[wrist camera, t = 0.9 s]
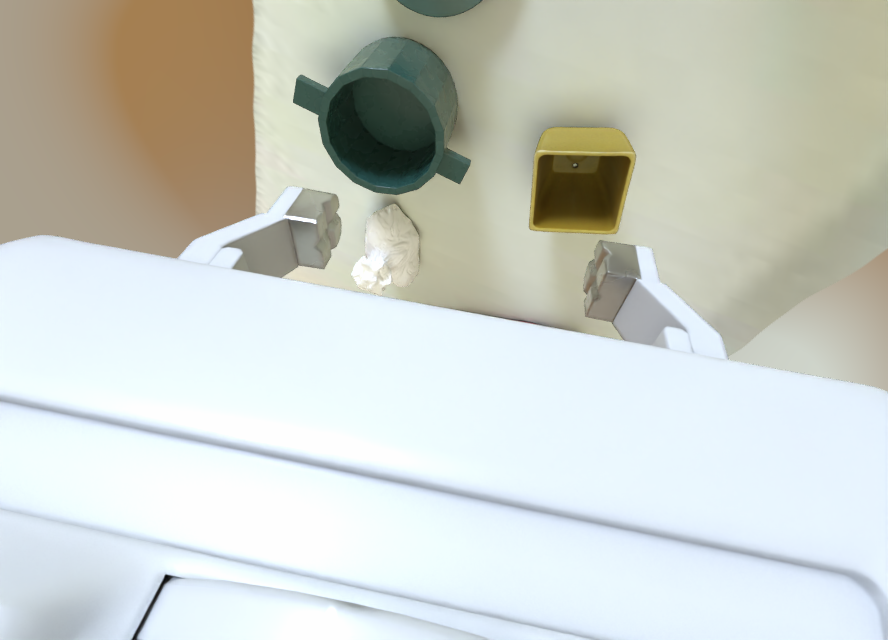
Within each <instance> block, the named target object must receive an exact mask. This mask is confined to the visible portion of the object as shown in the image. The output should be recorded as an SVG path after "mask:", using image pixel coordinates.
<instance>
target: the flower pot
mask: <svg viewBox="0 0 888 640" xmlns="http://www.w3.org/2000/svg"><path fill="white" fill-rule="evenodd" d="M635 161H636V154H635V152H634V150H633V148H632V146H631V144H630V142H629V140H628V139H627V137H626V135H625V134H624V133H623V132H622V131H620V130H618V129H614V128H576V127H553V128H549V129H547V130H546V131H544V132H543V134H542V135H541V137H540V140H539V143H538V146H537V148H536V151H535V154H534V163H533V179H532V193H531V206H530V218H529V229H530V230H533V231H543V232H565V233H586V234H616V233H617V231H618V229H619V225H620V221H621V216H622V212H623V208H624V204H625V200H626V196H627V192H628V188H629V184H630V180H631V176H632V173H633V169H634V165H635ZM574 163H577V164H578V166H577V167H575V168H574V167H573V164H574Z"/></svg>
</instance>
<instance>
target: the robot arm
mask: <svg viewBox="0 0 888 640" xmlns="http://www.w3.org/2000/svg"><path fill="white" fill-rule="evenodd" d="M338 208H339V200H338V197H337V195H336V194H331V193H326V192H320V191H315V190H310V189H304V188H299V187H293V186H289V187H287V188H286V189H285V190H284V191H283V193H282V194H281V195H280V197H279V198H278V199H277V200H276V202H275V203H274V204H273V206H272V207H271V208H270V210H269V211H268V212H267V213H266V214H264V213H261V214H258V215H256V216H253V217H251V218H248V219H246V220H243V221H240V222H238V223H236V224H233V225H230V226H228V227H225V228H223V229H220V230H218V231H215V232H213V233H210V234H207V235H205V236H202V237H200V238H197V239H195V240H193V242H192V243H191V244H190V245H189V246H188V247H187V248H186V249H185V251H184V252H183V253H182V254H181V255H180V256H179V257H178V258H177V259H175V258H170V257H164V256H158V255H153V254H148V253H142V252H137V251H131V250H126V249H120V248H115V247H110V246H104V245H98V244H93V243H88V242H82V241H78V240H73V239H68V238H63V237H58V236H50V235H39V236H33V237H28V238H24V239H20V240H16V241H11V242H8V243H4V244H1V245H0V640H888V392H886V391H884V390H882V389H879V388H876V387H873V386H868V385H863V384H858V383H853V382H848V381H842V380H837V379H831V378H825V377H820V376H814V375H809V374H803V373H798V372H792V371H786V370H781V369H776V368H770V367H764V366H759V365H754V364H747V363H742V362H737V361H732V360H729V358H728V355H727V352H726V349H725V346H724V343H723V339H722V336H721V335H720V334H719V333H718V332H717V331H716V330H715V329H714V328H713V327H712V326H711V325H709V324H708V323H707V322H706V321H705V320H704V319H703V318H702V317H701V316H700V315H699V314H698V313H696V312H695V311H694V310H693V309H692V308H691V307H690V306H689V305H688V304H687V303H686V302H684V301H683V300H682V299H681V298H680V297H679V296H678V295H677V294H676V293H675V292H674V291H672V290H671V289H670V288H669V287H668V286H667V285H666V284H663V283H660V279H659V275H658V270H657V266H656V262H655V258H654V253H653V249H651V248H650V247H644V246H637V245H627V244H621V243H615V242H608V241H602V240H600V241H599V242H598V244H597V246H596V248H595V250H594V254H595V259H593V260H592V261H590V262H589V264H588V267H587V269H586V273H585V277H584V284H583V289H584V292H585V293H586V294H587V296H586V298H585V300H584V307H585V317H590V318H594V319H599V320H604V321H609V322H613V323H612V324H613V325H614V327H615V328H616V330H617V331H618V333H619V334H620V335H621V337H622V338H623V340H624V341H623V340H618V339H612V338H607V337H601V336H596V335H590V334H585V333H579V332H574V331H568V330H563V329H558V328H552V327H547V326H541V325H536V324H530V323H525V322H519V321H514V320H508V319H503V318H497V317H492V316H486V315H481V314H475V313H470V312H465V311H459V310H454V309H448V308H443V307H437V306H432V305H426V304H421V303H415V302H410V301H405V300H399V299H394V298H388V297H383V296H377V295H372V294H366V293H361V292H355V291H350V290H344V289H339V288H334V287H328V286H323V285H317V284H312V283H306V282H301V281H295V280H290V279H284V278H282V277H283V276H285V275H286V274H288V273H289V272H291V271H292V270H294V269H295V268H297V267H298V265H299V266H306V267H312V268H319V269H325V267H326V265H327V263H328V261H329V259H330V258H331V249H333V248H335V247H336V246H337V244H338V242H339V240H340V236H341V226H342V225H341V218H340V217H339V216H338V214H337V213H336V212H337V210H338Z"/></svg>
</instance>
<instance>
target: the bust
mask: <svg viewBox="0 0 888 640" xmlns="http://www.w3.org/2000/svg"><path fill="white" fill-rule="evenodd" d="M366 224H367V228H366V237H365V255H366V257H367V259H368V260H367V259H366V257H365V256H363V257H362V258H361V259H360V260H359V261H358V262H357V263H356V264H355V266H354V269H353V272H352V273H351V276H352V277H353V279H354V280H355V282H356V285H357V287H358V288H359V289H362V290H366V291H369V292H371V293H374V294H377V295H378V296H382V292H383V291H384V290H385V286H387V285H389V284H391V283H394V284H395V285H396V286H399V287H407V286H408V285H409V284H410V283H412V282H413V280H414V277H415V276H417V275H418V272H419V262H420V261H419V255H418V251H419V235H418V233H417V231H416V229H415V228H414V226H413V224H412V222H411V220H410V219H409V218H408V217H406V216H405V215H404V214H403V212H402V211H401V210H400V208H399V207H398V206H397V205H396V204H391V205H389V206H387V207H385V208H383V209H381V210H378V211H376V212H374V213H373V214H372V215H371V216H370V217H369V218H367V220H366Z"/></svg>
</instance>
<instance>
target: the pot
mask: <svg viewBox="0 0 888 640" xmlns="http://www.w3.org/2000/svg"><path fill="white" fill-rule="evenodd" d="M293 103H295V104H297V105H299V106H301V107H303V108H305V109H307V110H309V111H311V112H313V113H315V114H317V115H319V117H318V122H319V127H320V132H321V137H322V142H323V145H324V147H325V149H326V150H327V152H328V154H329V155H330V157H331V159H332V161H333V162H334V164H335V165H336V167H337V168H338V169H340V170H341V171H342V172H343V173H344V174H345V175H346V176H347V177H348V178H349V179H350V180H352V181H353V182H354V183H356V184H358V185H360V186H363V187H365V188H367V189H369V190H371V191H373V192H376V193H385V194H394V195H397V194H398V195H399V194H402V193H406V192H410V191H414V190H417V189H419V188H420V187H422V186H423V185H424V184H425V183H426V182H428V181H429V180H430V179H431V178H432V177H434V175H435V173H438V174H440V175H442V176H444V177H446V178H448V179H450V180H452V181H454V182H456V183H458V184H460V183H461V181H462V179H463V177H464V176H465V174H466V172H467V170H468V168H469V166H470V163H471V160H469V159H467V158H465V157H463V156H461V155H459V154H457V153H456V152H454V151H452V150H450V149H448V148H447V145H448V142H449V139H450V137H451V134H452V131H453V128H454V125H455V122H456V119H457V107H458V103H457V93H456V88H455V85H454V82H453V79H452V77H451V75H450V73H449V71H448V69H447V67H446V66H445V65H444V63H443V62H442V61H441V60H440V59H439V57H438V56H437V55H436V54H435V53H433V52H432V51H431V50H430V49H428V48H427V47H425V46H424V45H422V44H420V43H418V42H416V41H413V40H410V39H407V38H400V37H390V38H384V39H380V40H378V41H375V42H373V43H371V44H369V45H368V46H366V47H364V48H363V49H362V50H361V51H360V52H359V54H358V55H357V56H356V57H355V58H354V59H353V60H352V61H351V62H350V64H349V65H348V66H347V67H346V68H345V69H344V70H343V71H342V72H341V74H340V75H339V76H338V77H337V78H336V79H335V81H334V82H333V83H332V84H331V86H330V87H329V88H327V87H325V86H323V85H321V84H319V83H317V82H315V81H313V80H311V79H309V78H307V77H305V76H303V75H300V76H299V77H297V79H296V86H295V92H294V99H293Z"/></svg>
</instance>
